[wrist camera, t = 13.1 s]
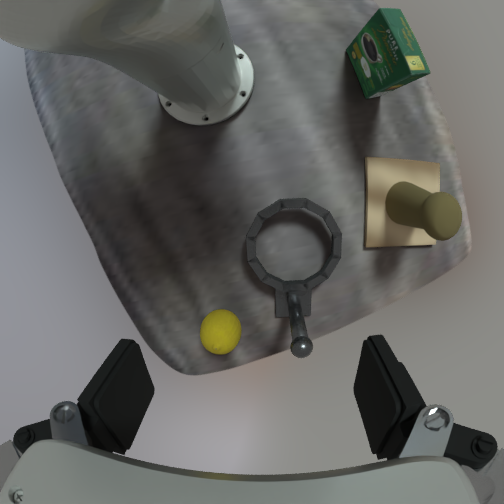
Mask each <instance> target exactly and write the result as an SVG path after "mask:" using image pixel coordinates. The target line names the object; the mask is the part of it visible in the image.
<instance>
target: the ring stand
mask: <svg viewBox="0 0 504 504" xmlns="http://www.w3.org/2000/svg"><path fill="white" fill-rule="evenodd" d="M285 208H306V209H308V210H310V211H312V212H314V213H315V214H317V215H319V216H321V217H322V218H323V219H324V221H325V223H326V225H327V226H328V228H329V230H330V232H331V233H332V243H331V255H330V256H329V258H328V260H327V261H326V263H325V264H324V266H323V268H322V269H321V270H320V271H319V272H317V273H315V274H314V275H312V276H310V277H309V278H307V279H305V280H295V281H284V280H282V279H280V278H277V277H275V276H273V275H271V274H269V273H267V272H266V270H265V269H264V267H263V266H262V264H261V263H260V261H259V260H258V258H257V257H256V245H255V237H256V235H257V234H258V232H259V230H260V228H261V226H262V224H263V222H264V220H266V219H267V218H269V217H270V216H272V215H274V214H275V213H277V212H278V211H280V210H282V209H285ZM246 243H247V258H248V263H249V264H250V266H251V267H252V269H253V270H254V272H255V273H256V275H257V276H258V277H259V279H260V280H261V282H263V283H265V284H267V285H270V286H272V287H274V288H275V297H276V317H289V319H290V327H291V334H292V343H291V346H290V349H291V352H292V354H293V355H294V356H296V357H298V358H304V357H307V356H308V355H310V353H311V352H312V349H313V344H312V341H311V340H310V339H309V338H308V334H307V329H306V325H305V320H304V316H311V291H312V288H313V287H315V286H316V285H318V284H320V283H322V282H323V281H325V280H327V279H328V278H329V276H330V275H331V273H332V272H333V270H334V268H335V267H336V265H337V264H338V262H339V260H340V259H341V243H342V233H341V231H340V229H339V228H338V226H337V224H336V222H335V220H334V219H333V217H332V215H331V213H330V212H329V211H328V210H326V209H324V208H322V207H321V206H319V205H317V204H315V203H314V202H312V201H310V200H308V199H306V198H294V199H279V200H278V201H276V202H274V203H273V204H271V205H270V206H268V207H266V208H265V209H263V210H262V211H260V212H258V214H257V216H256V218H255V220H254V222H253V224H252V226H251V228H250V230H249V232H248V233H247V235H246Z"/></svg>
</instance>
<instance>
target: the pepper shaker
mask: <svg viewBox="0 0 504 504" xmlns="http://www.w3.org/2000/svg"><path fill="white" fill-rule="evenodd" d="M385 205H386V211H387V214H388V216H389V217H390V219H391V220H392V221H394V222H395V223H396V224H400V225H405V226H410V227H415V228H419V229H424V230H425V232H426V233H427V234H428V235H429V236H430V237H432V238H433V239H436V240H441V241H443V240H448V239H450V238H451V237H453V236H454V235H455V234H456V233H457V232H458V230H459V228H460V226H461V222H462V211H461V207H460V205H459V203H458V201H457V200H456V199H455V198H454V197H453V196H452V195H450V194H448V193H445V192H435V193H431V192H429V191H427V190H425V189H423V188H421V187H418V186H416V185H414V184H412V183H409V182H406V181H402V182H398V183H396V184H394V185H393V186H392V187H391V188H390V189H389V191H388V193H387V196H386V201H385Z"/></svg>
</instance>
